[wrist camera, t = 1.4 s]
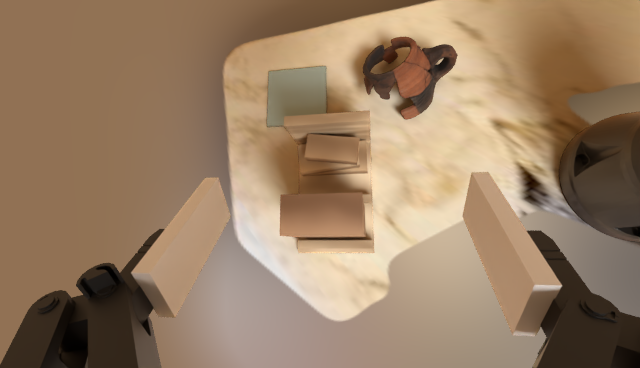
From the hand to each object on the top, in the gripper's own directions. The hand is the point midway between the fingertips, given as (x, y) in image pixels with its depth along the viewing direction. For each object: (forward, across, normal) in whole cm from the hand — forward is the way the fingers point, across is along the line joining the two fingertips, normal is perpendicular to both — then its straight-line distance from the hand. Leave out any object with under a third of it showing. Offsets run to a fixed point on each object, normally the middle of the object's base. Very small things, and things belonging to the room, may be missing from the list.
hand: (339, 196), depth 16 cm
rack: (+22, -3, -15) cm, 27 cm away
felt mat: (+32, -9, -5) cm, 34 cm away
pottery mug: (+33, +8, -4) cm, 34 cm away
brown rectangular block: (+18, -3, -17) cm, 25 cm away
